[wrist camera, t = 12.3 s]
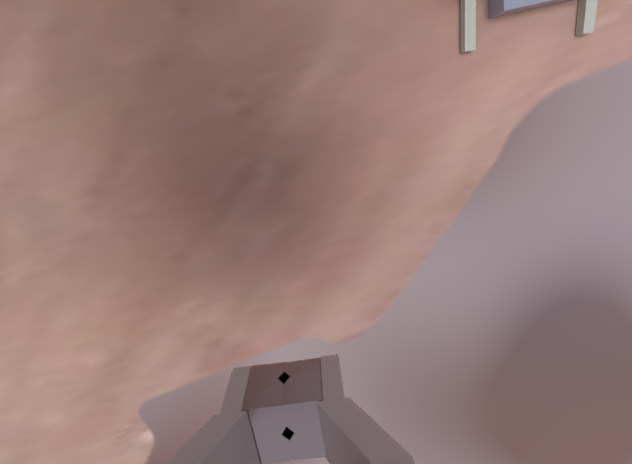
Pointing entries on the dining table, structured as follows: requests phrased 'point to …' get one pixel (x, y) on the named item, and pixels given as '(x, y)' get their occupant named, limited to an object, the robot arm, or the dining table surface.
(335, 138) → the dining table surface
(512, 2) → the slab
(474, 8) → the shelf
